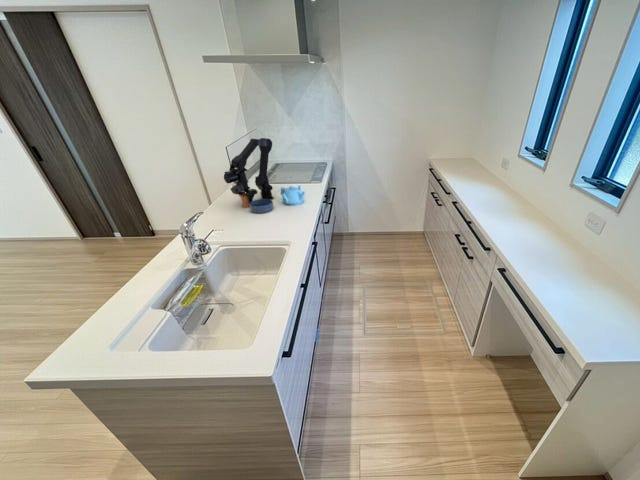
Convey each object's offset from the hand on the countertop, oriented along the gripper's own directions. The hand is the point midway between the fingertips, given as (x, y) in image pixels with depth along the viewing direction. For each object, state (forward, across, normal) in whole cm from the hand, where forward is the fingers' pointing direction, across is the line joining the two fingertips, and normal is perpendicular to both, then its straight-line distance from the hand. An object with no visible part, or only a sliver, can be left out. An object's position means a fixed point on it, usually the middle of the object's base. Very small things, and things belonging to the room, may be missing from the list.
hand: (247, 203), depth 204 cm
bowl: (+2, +14, 0) cm, 14 cm away
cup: (+2, 0, 0) cm, 2 cm away
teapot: (+2, +22, +21) cm, 30 cm away
